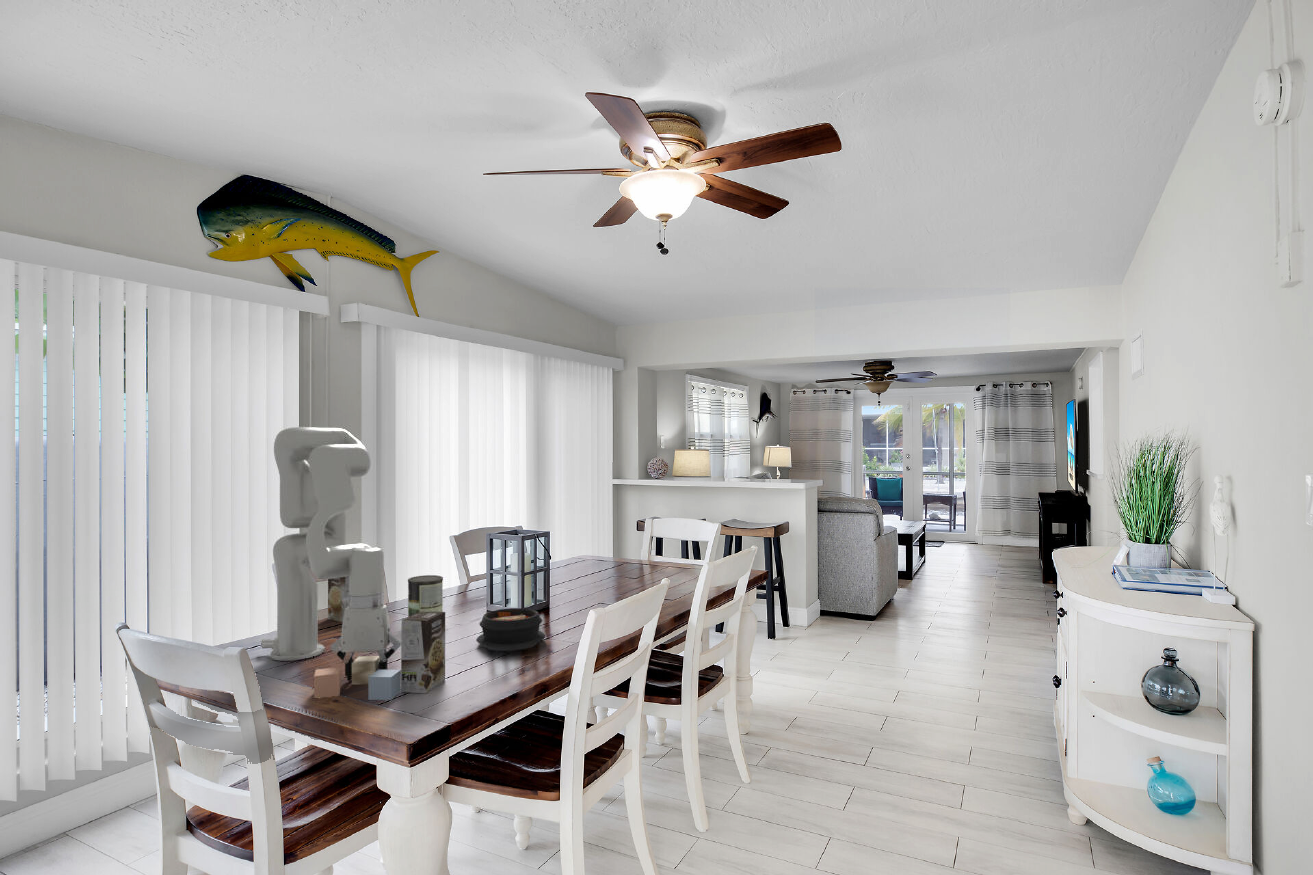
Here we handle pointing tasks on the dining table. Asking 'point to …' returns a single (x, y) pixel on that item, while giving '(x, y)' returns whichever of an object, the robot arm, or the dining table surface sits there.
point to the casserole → (510, 629)
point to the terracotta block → (327, 682)
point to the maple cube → (364, 669)
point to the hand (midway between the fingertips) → (366, 677)
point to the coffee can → (425, 594)
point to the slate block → (384, 684)
